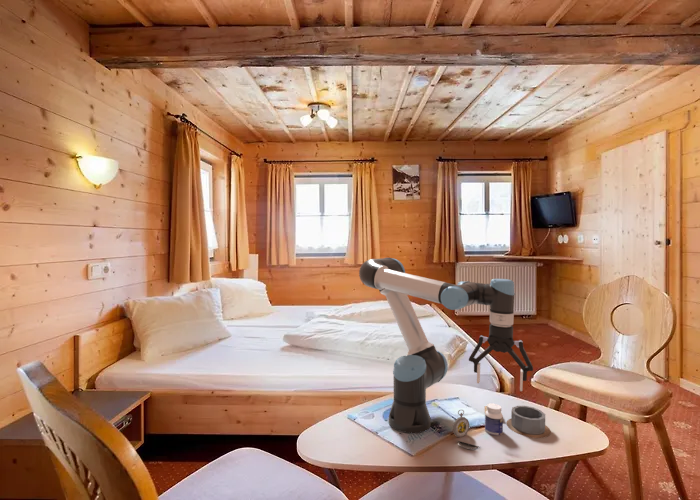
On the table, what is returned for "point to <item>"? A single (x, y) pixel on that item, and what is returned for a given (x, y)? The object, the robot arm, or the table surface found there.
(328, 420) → the table surface
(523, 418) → the grey round bowl
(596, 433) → the table surface
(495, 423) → the pill bottle
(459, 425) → the pocket watch
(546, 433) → the board
